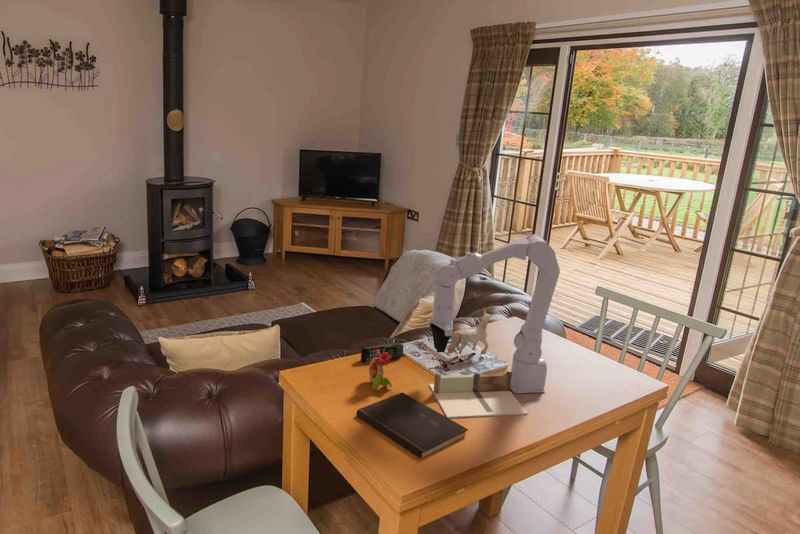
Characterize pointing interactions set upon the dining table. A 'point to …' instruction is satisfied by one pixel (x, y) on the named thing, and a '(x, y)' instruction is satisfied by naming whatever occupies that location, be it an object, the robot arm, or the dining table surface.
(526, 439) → the dining table surface
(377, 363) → the bird rattle
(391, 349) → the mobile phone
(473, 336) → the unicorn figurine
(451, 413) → the card
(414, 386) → the dining table surface
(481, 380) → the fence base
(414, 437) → the hardcover book
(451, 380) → the fence panel
